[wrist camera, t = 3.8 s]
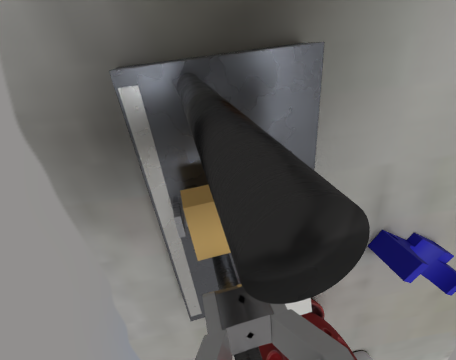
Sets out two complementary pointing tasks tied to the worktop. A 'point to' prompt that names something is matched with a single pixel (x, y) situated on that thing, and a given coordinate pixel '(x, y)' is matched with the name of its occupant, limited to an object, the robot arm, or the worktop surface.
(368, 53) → the worktop surface
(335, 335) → the plant pot
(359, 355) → the milk bottle
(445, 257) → the cable clip
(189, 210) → the tan block
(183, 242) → the panel
